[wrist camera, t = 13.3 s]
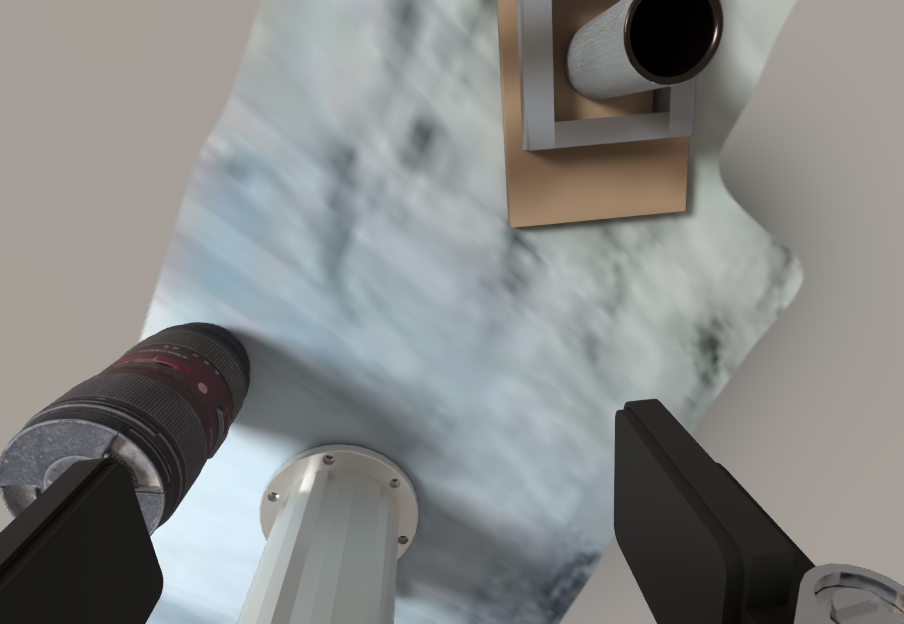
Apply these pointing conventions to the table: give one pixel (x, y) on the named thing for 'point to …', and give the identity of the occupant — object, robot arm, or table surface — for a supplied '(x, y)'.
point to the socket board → (583, 127)
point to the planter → (643, 46)
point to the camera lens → (138, 420)
